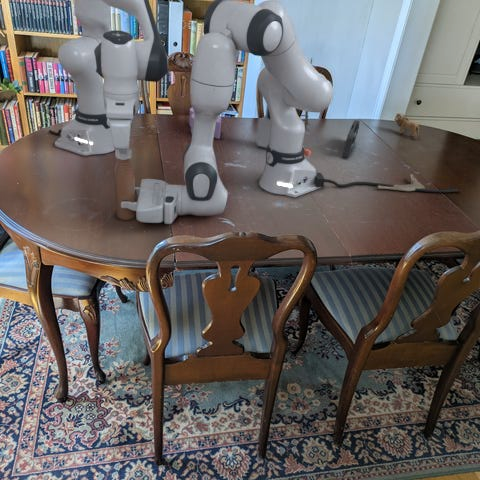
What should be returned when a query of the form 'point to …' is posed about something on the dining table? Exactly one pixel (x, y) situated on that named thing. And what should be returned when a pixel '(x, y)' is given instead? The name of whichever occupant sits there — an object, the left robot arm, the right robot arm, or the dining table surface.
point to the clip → (217, 127)
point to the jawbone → (405, 187)
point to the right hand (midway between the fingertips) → (122, 198)
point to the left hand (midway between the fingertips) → (124, 152)
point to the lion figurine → (406, 124)
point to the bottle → (124, 187)
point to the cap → (129, 153)
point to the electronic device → (264, 131)
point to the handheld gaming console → (351, 139)
